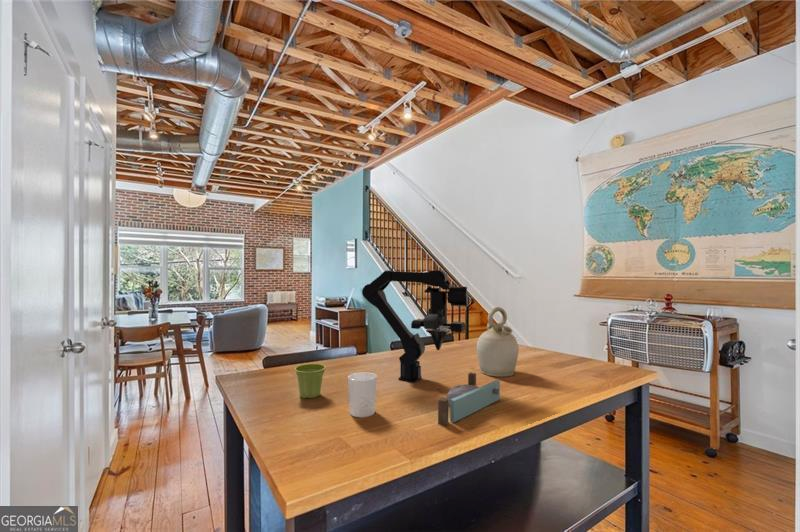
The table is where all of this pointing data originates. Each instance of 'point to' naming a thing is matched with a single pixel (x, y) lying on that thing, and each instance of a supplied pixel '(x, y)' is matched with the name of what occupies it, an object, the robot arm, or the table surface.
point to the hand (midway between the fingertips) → (438, 349)
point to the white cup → (362, 393)
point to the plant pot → (310, 379)
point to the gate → (474, 400)
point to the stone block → (459, 391)
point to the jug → (497, 348)
